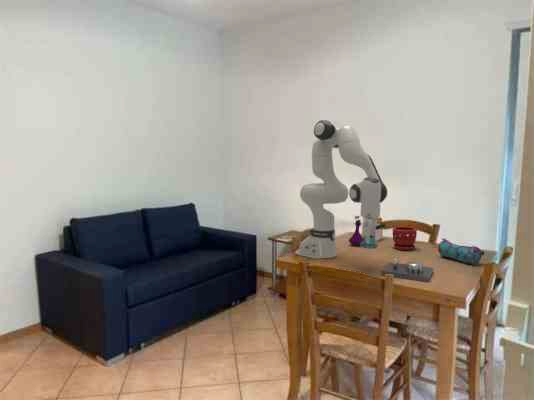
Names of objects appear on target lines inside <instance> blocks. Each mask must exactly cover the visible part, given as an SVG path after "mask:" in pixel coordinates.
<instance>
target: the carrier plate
mask: <svg viewBox="0 0 534 400" xmlns="http://www.w3.org/2000/svg"><path fill="white" fill-rule="evenodd" d="M398 260H399V259H398V258H393V261H390V262H388V263H387V264H386V265H385V266H384V267H383V268H382V269H381V271H380V275H381V276H385V274H393V275H394V276H395V277H394V278H399V279H406V280H413V281H419V282H425V283H428V282H429V281H430V279H431V278H432V276H433V274H434V267H430V266H429V267H428V266H425V264H424V263H423V262H422V263H421V262H419V261H406V262H405V263H400V262H398Z"/></svg>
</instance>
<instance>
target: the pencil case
mask: <svg viewBox="0 0 534 400" xmlns="http://www.w3.org/2000/svg"><path fill="white" fill-rule="evenodd" d="M441 240H442V241H440V242H439V244H438V246H437V252H438V253H439V255H440V256H442V257H445V258H448V259H452V260H456V261H458V262H462V263H465V264H468V265H471V266H477V265H478V264H479V263H480V262H481V259H482V256H485V251H483V250H481V249H480V248H479V247H478V246H475V245H471V246H469V245H458V244H455V243H452V242H451V241H449V240H448V239H446V238H444V237H443V238H441Z"/></svg>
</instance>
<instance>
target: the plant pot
mask: <svg viewBox="0 0 534 400" xmlns="http://www.w3.org/2000/svg"><path fill="white" fill-rule="evenodd" d="M417 232H418V230H417V228H416V227H410V226H409V227H408V226H396V227H393V228H392V240H393V243H394V244H393V247H394V248H395V249H397V250H402V251H412V250H414V249H415V248H416V245H415V243H416V240H417V236H418V235H417V234H418V233H417Z"/></svg>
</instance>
